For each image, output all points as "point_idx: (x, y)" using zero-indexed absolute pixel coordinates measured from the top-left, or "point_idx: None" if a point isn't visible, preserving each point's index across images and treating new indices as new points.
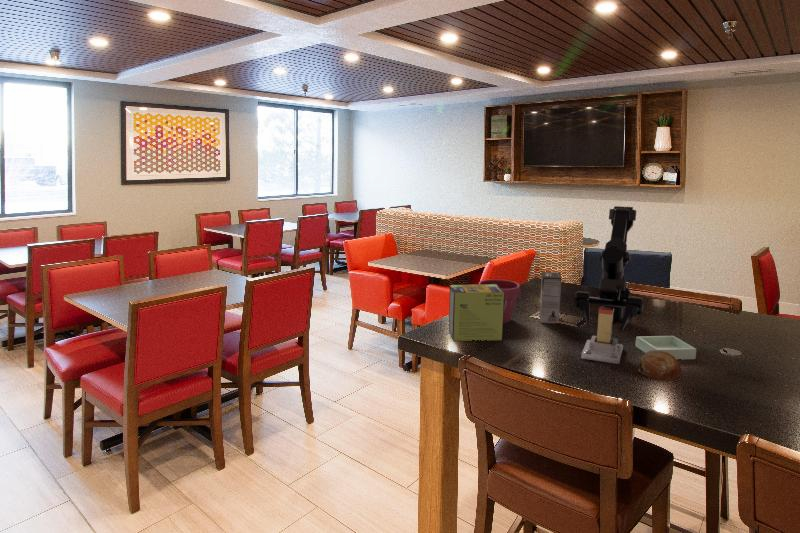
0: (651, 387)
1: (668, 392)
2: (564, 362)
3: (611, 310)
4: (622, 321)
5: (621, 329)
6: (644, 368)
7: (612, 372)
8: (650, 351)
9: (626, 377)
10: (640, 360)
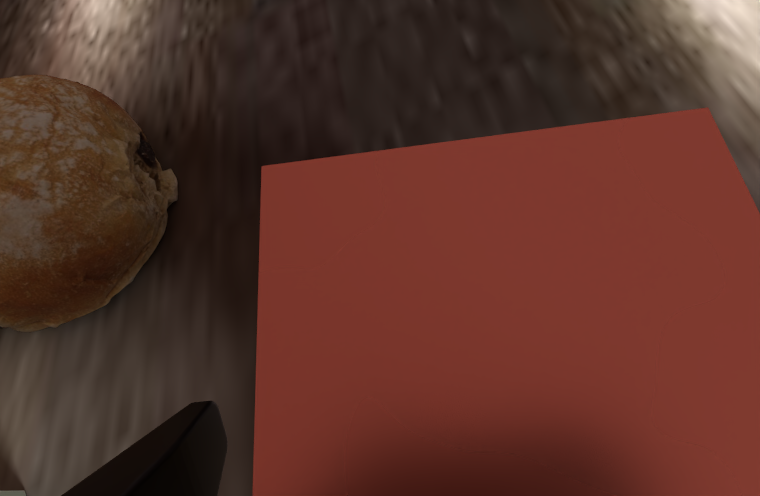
0: (131, 38)
1: (65, 29)
2: (617, 94)
3: (306, 180)
4: (144, 480)
5: (213, 404)
6: (126, 112)
7: (318, 102)
8: (14, 153)
9: (242, 80)
10: (132, 173)
